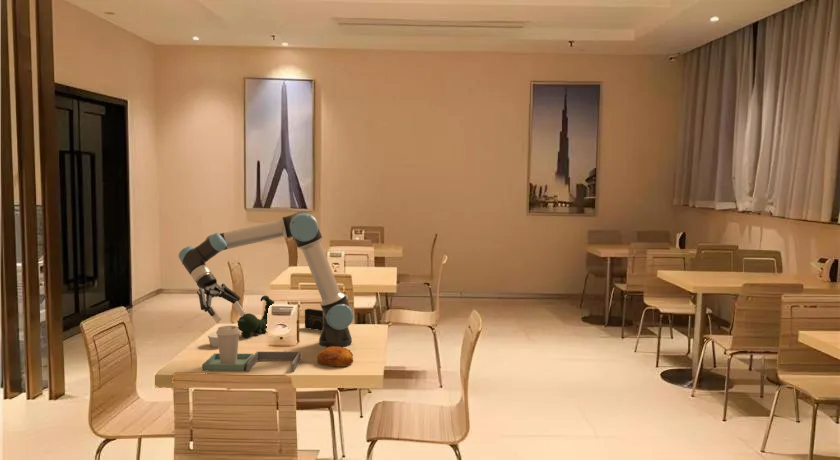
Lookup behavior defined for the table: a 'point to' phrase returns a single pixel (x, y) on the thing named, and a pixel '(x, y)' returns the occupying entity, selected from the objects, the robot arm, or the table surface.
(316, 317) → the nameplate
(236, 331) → the coffee cup
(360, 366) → the table surface
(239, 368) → the tray
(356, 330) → the table surface
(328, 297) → the robot arm
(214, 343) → the ramekin
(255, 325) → the toy figurine
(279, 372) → the table surface
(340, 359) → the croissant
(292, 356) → the dock
